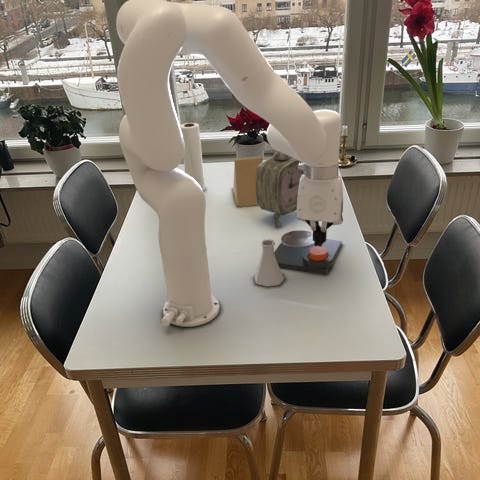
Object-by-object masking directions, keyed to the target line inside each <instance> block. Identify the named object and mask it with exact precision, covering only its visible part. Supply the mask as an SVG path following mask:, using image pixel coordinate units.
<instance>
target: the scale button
mask: <svg viewBox="0 0 480 480" xmlns="http://www.w3.org/2000/svg"><path fill="white" fill-rule="evenodd" d="M327 253H328V251H327V249H326V248H324V247H313V248H311V249H310V250H309V258H310V259H311V260H315V261H322V260H325V259H327Z"/></svg>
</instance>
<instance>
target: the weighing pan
mask: <svg viewBox="0 0 480 480" xmlns="http://www.w3.org/2000/svg"><path fill="white" fill-rule="evenodd" d="M280 241H281V242H282V243H283V244H284V245H286V246H288V247H292V248H306V247H310V246H312V245H314V244H315V241H313V231H312V232H311V231H308V230H301V229H300V230H291V231H288V232H285V233H283V234H282V236H281V238H280ZM281 242H280V243H281Z"/></svg>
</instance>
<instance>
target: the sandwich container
mask: <svg viewBox="0 0 480 480" xmlns="http://www.w3.org/2000/svg"><path fill="white" fill-rule="evenodd" d="M263 160H264V158H263V156H253V157H252V156H251V157H250V156H249V157H243V158H235V159H234V163H233V164H234V166H233V167H234V169H233V182H232V183H233V184H232V191H233V196H234V201H235V203H236V206H237V207H238V208H241V207H242V208H243V207H252V206H259V205H258V202H257V198H256V187H255V175H256V168H257V166H258V165H259V164H260V163H262V162H264V161H263Z"/></svg>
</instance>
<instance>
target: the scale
mask: <svg viewBox="0 0 480 480" xmlns="http://www.w3.org/2000/svg"><path fill="white" fill-rule="evenodd" d="M342 244H343V240H339V239H338V240H337V239H329V238H326V242H324V243H323V245H322V246H321V247H324V248H326V249H327V251H328V253H327V259H325V260H322V261H315V260H311V259H310V258H309V250H310V249H311V248H313V247H319V246H315V244H314V245H312V246H310V247H306V248H292V247H288V246H286V245H284V244H283V243H282V242H280V243H279V245H278V246H277V248H276V249H275V250H274V253H275V258H276V260H277V263H278V265H279V268H280V269H286V270H290V271H291V270H293V271H299V272H303V273H305V272H306V273H312V274H318V275H325V276H326V275H327V274H328V272H329V270H330V269H331V267H332V266H333V263H334V261H335V259H336V257H337V255H338V254H339V251H340V249H341V247H342V246H343V245H342Z"/></svg>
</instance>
